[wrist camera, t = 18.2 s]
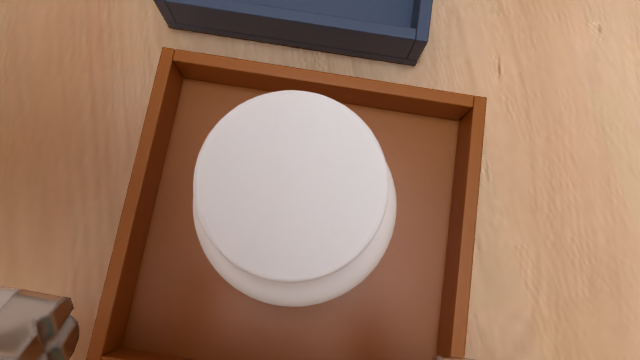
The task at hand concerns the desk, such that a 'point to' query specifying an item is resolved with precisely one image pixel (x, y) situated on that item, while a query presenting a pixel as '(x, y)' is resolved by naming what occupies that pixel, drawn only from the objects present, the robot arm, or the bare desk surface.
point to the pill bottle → (293, 198)
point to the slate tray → (313, 24)
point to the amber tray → (280, 321)
